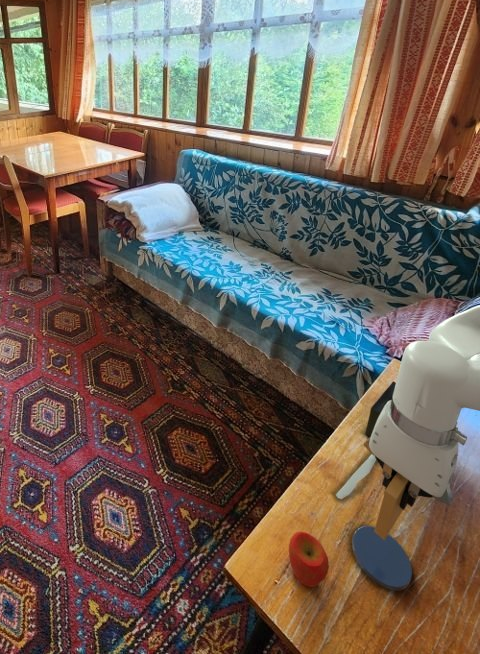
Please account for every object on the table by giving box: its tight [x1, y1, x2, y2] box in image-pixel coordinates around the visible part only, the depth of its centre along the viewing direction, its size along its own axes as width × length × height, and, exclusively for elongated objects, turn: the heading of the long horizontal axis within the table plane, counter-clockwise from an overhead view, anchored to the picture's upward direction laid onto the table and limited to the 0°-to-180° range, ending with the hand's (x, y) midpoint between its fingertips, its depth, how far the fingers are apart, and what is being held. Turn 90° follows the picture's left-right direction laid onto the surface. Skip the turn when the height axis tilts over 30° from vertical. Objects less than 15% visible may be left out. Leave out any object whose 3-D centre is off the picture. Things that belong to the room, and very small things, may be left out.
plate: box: [351, 525, 413, 592], centre depth 68 cm, size 9×9×1 cm
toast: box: [374, 472, 410, 540], centre depth 62 cm, size 10×2×10 cm, turn 125°
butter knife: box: [335, 453, 377, 500], centre depth 84 cm, size 1×27×3 cm
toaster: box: [364, 381, 396, 438], centre depth 88 cm, size 13×8×9 cm, turn 125°
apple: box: [288, 530, 330, 588], centre depth 66 cm, size 6×6×8 cm
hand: (397, 496), depth 62 cm, fingers closed on toast, 1 cm apart
